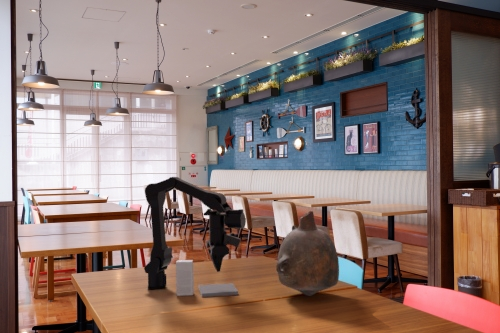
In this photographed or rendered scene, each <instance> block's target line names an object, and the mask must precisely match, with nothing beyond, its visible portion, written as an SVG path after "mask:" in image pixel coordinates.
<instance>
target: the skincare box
mask: <svg viewBox="0 0 500 333" xmlns="http://www.w3.org/2000/svg"><path fill="white" fill-rule="evenodd" d="M175 278H176V279H175V280H176V283H175V286H176V288H175V289H176V291H175V293H176V296H178V297H181V296H183V297H184V296H193V295H194V292H195V291H194V290H195V288H194V286H195V285H194V260H193V259H185V260H184V259H183V260H181V259H179V260H176V262H175Z"/></svg>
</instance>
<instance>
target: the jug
mask: <svg viewBox="0 0 500 333" xmlns="http://www.w3.org/2000/svg"><path fill="white" fill-rule="evenodd" d="M314 215H315V214H314V211H312V210H309V211H308V212H306V213H305V214H304V215H302V216H301V217H300V218H299V224H298V226H297V225H295V224H293V225H292V227H291V230H290V231H289V232H288V234H286V236H284V239H283V241H282V242H281V243H280V247H279V251H278V257H277V262H276V268H275V269H276V271H277V276H278V280H279V282H280V284H281V285H282V286H285V287H287V288H290V289H293V290H296V291H298V292H300V293H301V294H303V295H305V296H307V297H311V296H314V295H315V294H317V293H319V292H322V291H324V290H327V289H330V288H332V287H334V286H336V285H337V284H338V282H339V278H340V263H339V257H338V252H337V249H336V246H335V243H334V241H333V239H332V238H331V236H330V235H329V234H328V233H327V232H326V231H324V230H323V229H320V228H318V227H317V226H316V223H315V222H316V220H315V216H314Z"/></svg>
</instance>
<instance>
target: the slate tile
mask: <svg viewBox="0 0 500 333" xmlns="http://www.w3.org/2000/svg"><path fill="white" fill-rule="evenodd" d="M198 291H199V293H200V296H201V297H202V298H209V297H210V298H211V297H222V296H223V297H225V296H238V295H239V290H238V288H236V285H235V284H234V283H232V282H230V283H213V284H198Z"/></svg>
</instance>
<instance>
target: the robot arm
mask: <svg viewBox="0 0 500 333" xmlns="http://www.w3.org/2000/svg"><path fill="white" fill-rule="evenodd" d="M172 190H177V191H179V192H182V193H184V194H186V195H188V196H190V197H193V198H195V199H196V200H199V201H200V202H201V203H202V204H203V205H204V206H205V207H207V208H208V209H207V210H206V211H205V212H204V213H203V215H204V216H208V217H209V218H208V220H209V222H208V226H209V227H208V228H209V229H208V233H209V235H208V236H209V239H208V240H207V241H205V242H206V243H205V244H206V249H207V252H208V254H209V256H210V259H211V262H212V265H213V266H214V269H215V270H216V272H217V273H220V272H221V270H222V264H223V259H224V257H226V255H229V254H230V248H229V247H228V246H227V245H229V246H232V247H235V248H239V246H240V243H241V241H242V239H241V238H239V237H237V235H236V233H234V232H230V233H227V231H226V227H227V228H228V229H245V227H246V220H247V219H246V214H245V212H244V209H241V208H240V209H232V207H231V206H230V204H229V203H228V201H227V198H226V195H225V194H224V193H221V192H217V191H212V190H208V189H205V188H202V187H200V186H197V185H194V184H192V183H190V182H188V181H185V180H183V179H181V178H180V177H178V176H171V177H169V178H167V179H165V180H162V181H159V182H155V183H149V184H147V185H146V186H145V188H144V194H145V198H146V202H147V204H148V206H149V208H150V219H151V230H152V233H151V234H152V248H151V250H150V258H149V261H148V263H147V264H146V265H145V266H144V268H143V270H144V272H145V274H147V290H162V289H163V290H164V289H166V287H167V274H166V273H165V272H166V271H167V270H168V267H169V265H170V264H171V263H172V259H173V257H174V256H173V248H172V246H171V247H169V246H168V244H167V242H166V240H167V239H166V229H165V214H164V213H165V212H164V204H165V203H166V202H165V201H166V198H167V193H168V192H169V193H170V192H171V191H172ZM208 248H209V249H208ZM165 270H166V271H165Z"/></svg>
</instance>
